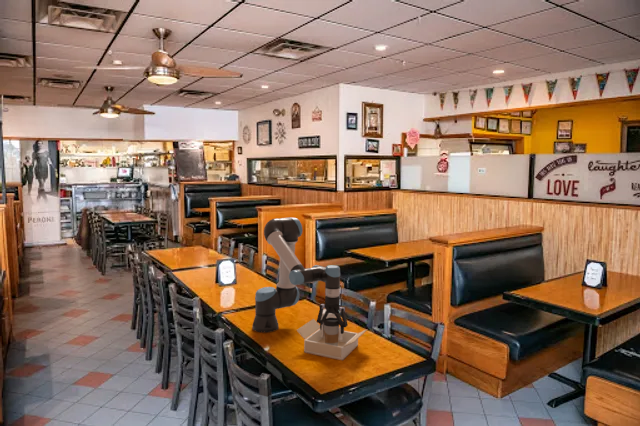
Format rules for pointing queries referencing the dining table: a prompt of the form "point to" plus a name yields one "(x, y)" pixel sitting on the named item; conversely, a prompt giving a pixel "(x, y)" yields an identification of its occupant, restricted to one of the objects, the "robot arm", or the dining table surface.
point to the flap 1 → (308, 328)
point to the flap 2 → (355, 338)
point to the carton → (318, 346)
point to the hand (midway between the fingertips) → (331, 337)
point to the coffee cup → (331, 331)
